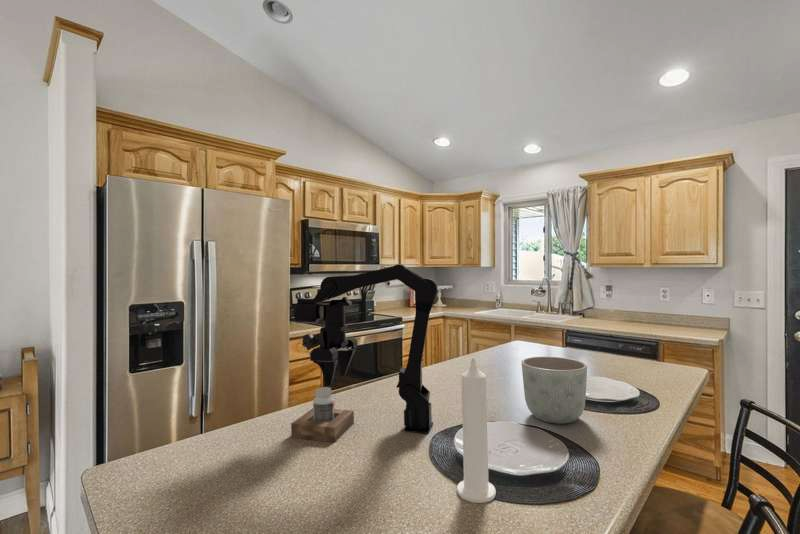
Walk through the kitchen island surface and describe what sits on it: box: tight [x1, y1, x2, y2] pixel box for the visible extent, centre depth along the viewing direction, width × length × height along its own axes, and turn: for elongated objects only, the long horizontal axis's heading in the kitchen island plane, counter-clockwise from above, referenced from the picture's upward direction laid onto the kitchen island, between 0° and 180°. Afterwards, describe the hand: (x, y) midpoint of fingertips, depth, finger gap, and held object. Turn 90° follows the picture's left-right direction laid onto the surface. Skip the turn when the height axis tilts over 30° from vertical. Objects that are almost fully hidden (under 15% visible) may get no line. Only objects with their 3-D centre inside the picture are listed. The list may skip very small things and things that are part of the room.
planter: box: [520, 355, 588, 425], centre depth 109 cm, size 17×17×15 cm
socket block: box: [290, 408, 355, 443], centre depth 104 cm, size 12×12×4 cm
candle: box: [456, 357, 497, 504], centre depth 73 cm, size 7×7×25 cm
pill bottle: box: [312, 386, 335, 423], centre depth 104 cm, size 5×5×10 cm
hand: (336, 380), depth 107 cm, fingers open, 9 cm apart
